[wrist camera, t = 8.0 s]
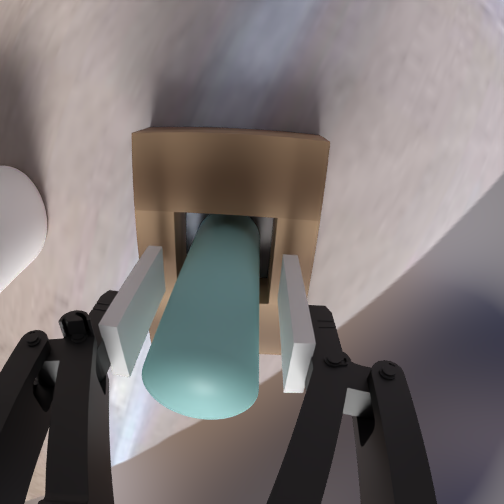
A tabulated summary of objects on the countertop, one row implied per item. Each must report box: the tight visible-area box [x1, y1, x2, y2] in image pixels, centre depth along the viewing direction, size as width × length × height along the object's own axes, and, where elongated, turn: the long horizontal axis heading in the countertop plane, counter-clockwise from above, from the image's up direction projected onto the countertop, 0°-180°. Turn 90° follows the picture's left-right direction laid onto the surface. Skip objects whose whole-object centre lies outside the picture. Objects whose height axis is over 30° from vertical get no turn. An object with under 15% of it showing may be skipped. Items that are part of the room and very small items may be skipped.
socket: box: [132, 127, 330, 355], centre depth 20 cm, size 14×10×3 cm
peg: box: [142, 214, 260, 419], centre depth 16 cm, size 4×4×12 cm
